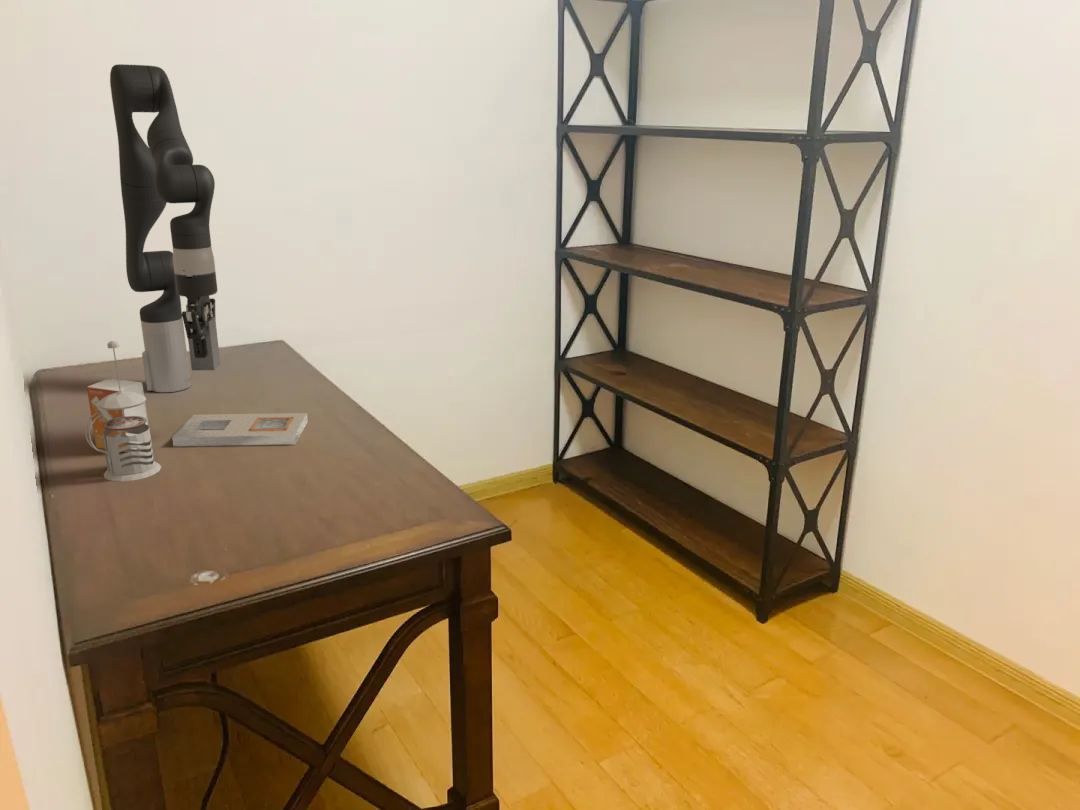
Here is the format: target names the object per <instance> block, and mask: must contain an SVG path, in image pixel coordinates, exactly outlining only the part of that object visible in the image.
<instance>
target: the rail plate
mask: <svg viewBox="0 0 1080 810" xmlns="http://www.w3.org/2000/svg"><path fill="white" fill-rule="evenodd" d="M308 422H309V421H308V412H293V413H292V412H291V413H289V412H287V413H286V412H285V413H284V412H283V413H279V412H278V413H274V412H273V413H222V414H221V413H219V414H218V413H212V414H193V415H192V416H191V417H190V419H188V420H187V421H186V422H185V423H184V424H183V425H182V426H181V428H179V430H178V431H177V432H176V433H174V435H173V436H172V445H173V446H172V447H174V448H177V447H179V448H180V447H226V446H227V447H229V446H233V447H234V446H235V447H236V446H281V445H282V446H283V445H284V446H286V445H292V446H293V445H294V446H295V445H296V443H297V441H298V440H299V438H300V437H301V436H302V435H301V434H302V433H303V432H304V429H305V428H306V425H307V424H308Z"/></svg>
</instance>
